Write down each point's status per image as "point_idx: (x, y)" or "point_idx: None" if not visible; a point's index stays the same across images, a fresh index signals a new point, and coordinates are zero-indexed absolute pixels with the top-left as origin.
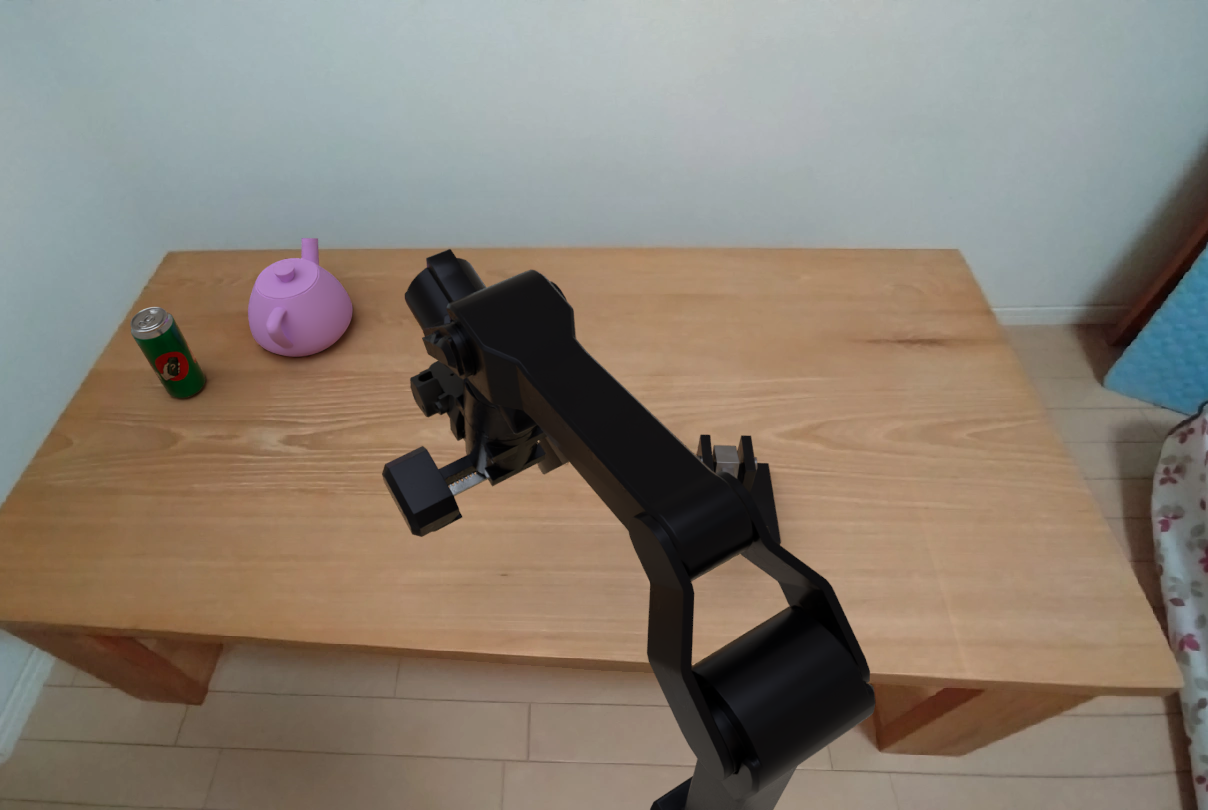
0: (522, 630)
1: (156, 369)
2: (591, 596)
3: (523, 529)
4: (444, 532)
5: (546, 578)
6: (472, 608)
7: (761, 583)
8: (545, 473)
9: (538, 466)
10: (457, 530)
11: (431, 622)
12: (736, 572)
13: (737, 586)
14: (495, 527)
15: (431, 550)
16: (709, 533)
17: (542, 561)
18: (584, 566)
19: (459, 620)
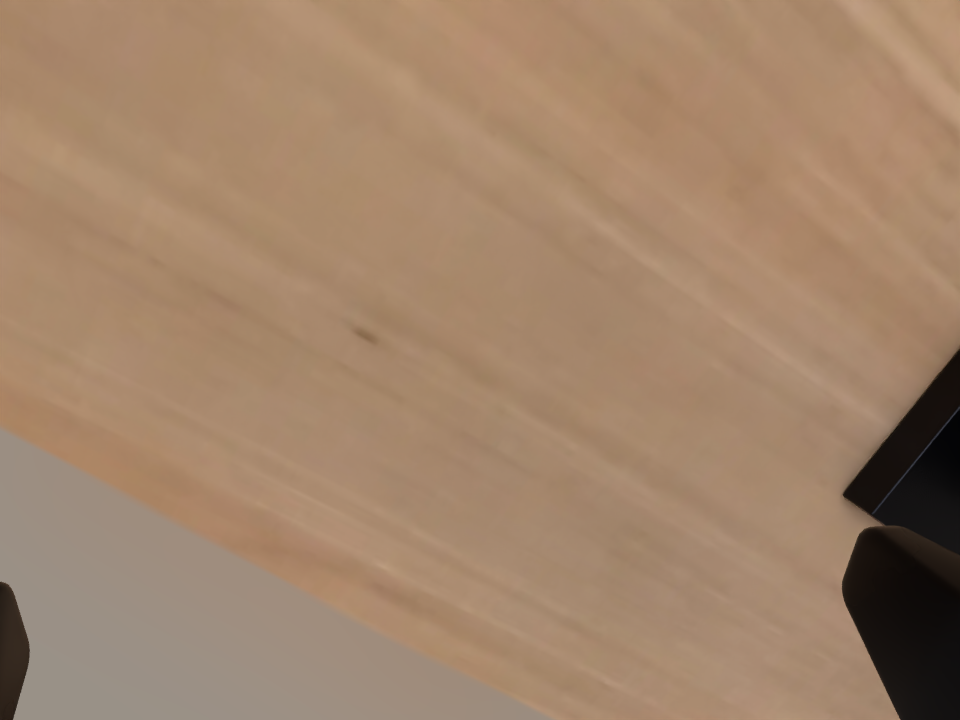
0: (321, 538)
1: None
2: (570, 539)
3: (523, 206)
4: (236, 30)
5: (486, 420)
6: (201, 393)
7: None
8: (873, 661)
9: (868, 544)
10: (292, 55)
11: (33, 368)
12: None
13: None
14: (436, 136)
15: (149, 79)
16: None
17: (509, 359)
18: (614, 443)
19: (137, 411)
